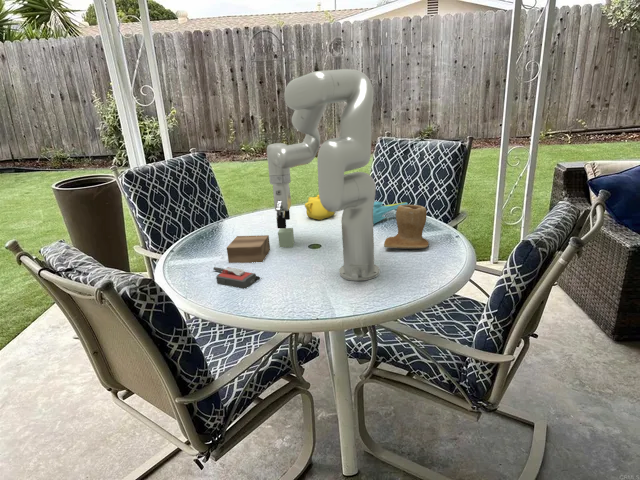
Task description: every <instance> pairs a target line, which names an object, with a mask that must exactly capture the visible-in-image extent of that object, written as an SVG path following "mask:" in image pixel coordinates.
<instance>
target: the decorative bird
mask: <svg viewBox="0 0 640 480" xmlns="http://www.w3.org/2000/svg"><path fill="white" fill-rule="evenodd" d="M383 204H384V201H374V206H373V225H375V224H377V223H379V222H381V221H383V220H384V219H385V218H386V216H384V215H385V214H387V213H388V212H392V211H395V210H397V208H398V206H399V205H409V203H408V202H406V201H404V202H399V203H393V204H385V205H383Z"/></svg>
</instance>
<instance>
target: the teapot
mask: <svg viewBox="0 0 640 480" xmlns="http://www.w3.org/2000/svg"><path fill="white" fill-rule="evenodd" d="M304 207H305V209H306V215H307V217H308V218H311V219H315V220H318V221H323V219H326V218H331V217H333V216H334V215H335V212H330V211H328V210H326V209H325V208H324V207H323V206H322V204H321V201H320V198H319V194H317V195H316V196H314V197H313V196H309V197H308V200H307V202H305V203H304Z"/></svg>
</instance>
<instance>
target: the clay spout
mask: <svg viewBox="0 0 640 480" xmlns="http://www.w3.org/2000/svg"><path fill="white" fill-rule="evenodd" d="M427 213H428V211H427V208H426V207H424V206H423V205H419V204H407V205H399V206H398V208H397V209H396V211H395V220H396V225H397V234H396V235H394V236H388V237H387V238H386V239H384V243H383V248H385V249H388V248H389V249H408V250H409V249H425V248H428V247H429V245H430V244H429V241H428V240H427V239H426V238H424V237H423V231H424V228H425V225H426V222H427Z"/></svg>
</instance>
